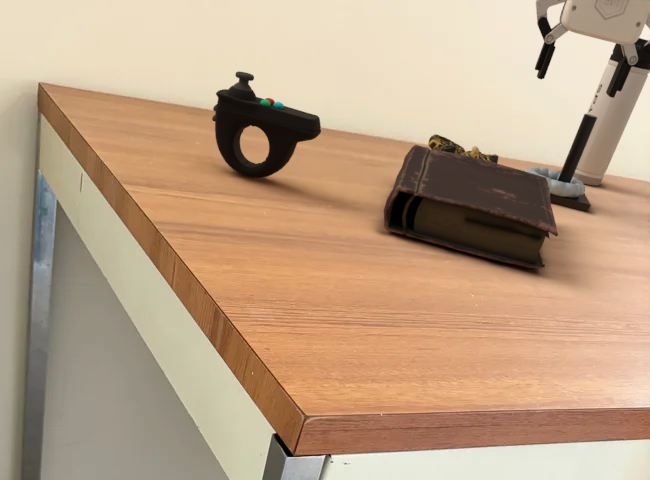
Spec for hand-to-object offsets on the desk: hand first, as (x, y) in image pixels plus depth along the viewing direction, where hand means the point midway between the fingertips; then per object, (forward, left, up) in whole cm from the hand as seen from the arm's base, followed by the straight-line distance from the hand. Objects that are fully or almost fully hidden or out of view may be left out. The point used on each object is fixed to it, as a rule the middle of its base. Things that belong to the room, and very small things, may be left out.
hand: (574, 86), depth 111 cm
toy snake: (+12, -2, -14) cm, 18 cm away
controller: (+36, +32, -14) cm, 50 cm away
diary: (+11, +28, -14) cm, 33 cm away
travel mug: (-9, -19, -14) cm, 25 cm away
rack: (-3, 0, -14) cm, 14 cm away
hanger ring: (-2, 0, -12) cm, 12 cm away
